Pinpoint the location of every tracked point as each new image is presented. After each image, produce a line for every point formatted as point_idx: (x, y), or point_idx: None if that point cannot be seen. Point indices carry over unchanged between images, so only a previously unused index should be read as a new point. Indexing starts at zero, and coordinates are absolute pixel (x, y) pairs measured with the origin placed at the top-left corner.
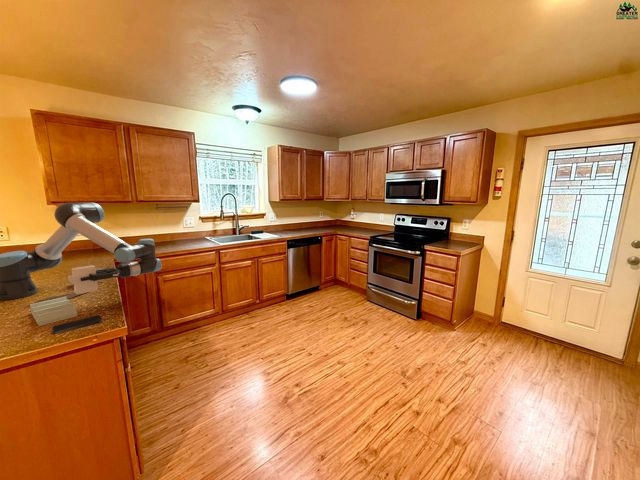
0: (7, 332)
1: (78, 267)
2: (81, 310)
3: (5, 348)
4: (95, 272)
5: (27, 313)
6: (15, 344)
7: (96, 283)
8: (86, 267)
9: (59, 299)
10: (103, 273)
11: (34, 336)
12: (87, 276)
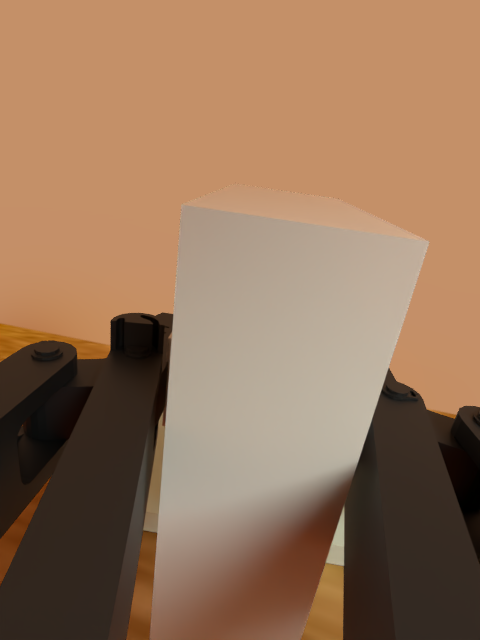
0: None
1: (350, 205)
2: (147, 579)
3: (39, 331)
4: (170, 379)
5: None
6: (36, 341)
7: (156, 581)
8: (246, 196)
9: None
10: (23, 554)
11: None
12: (169, 347)
